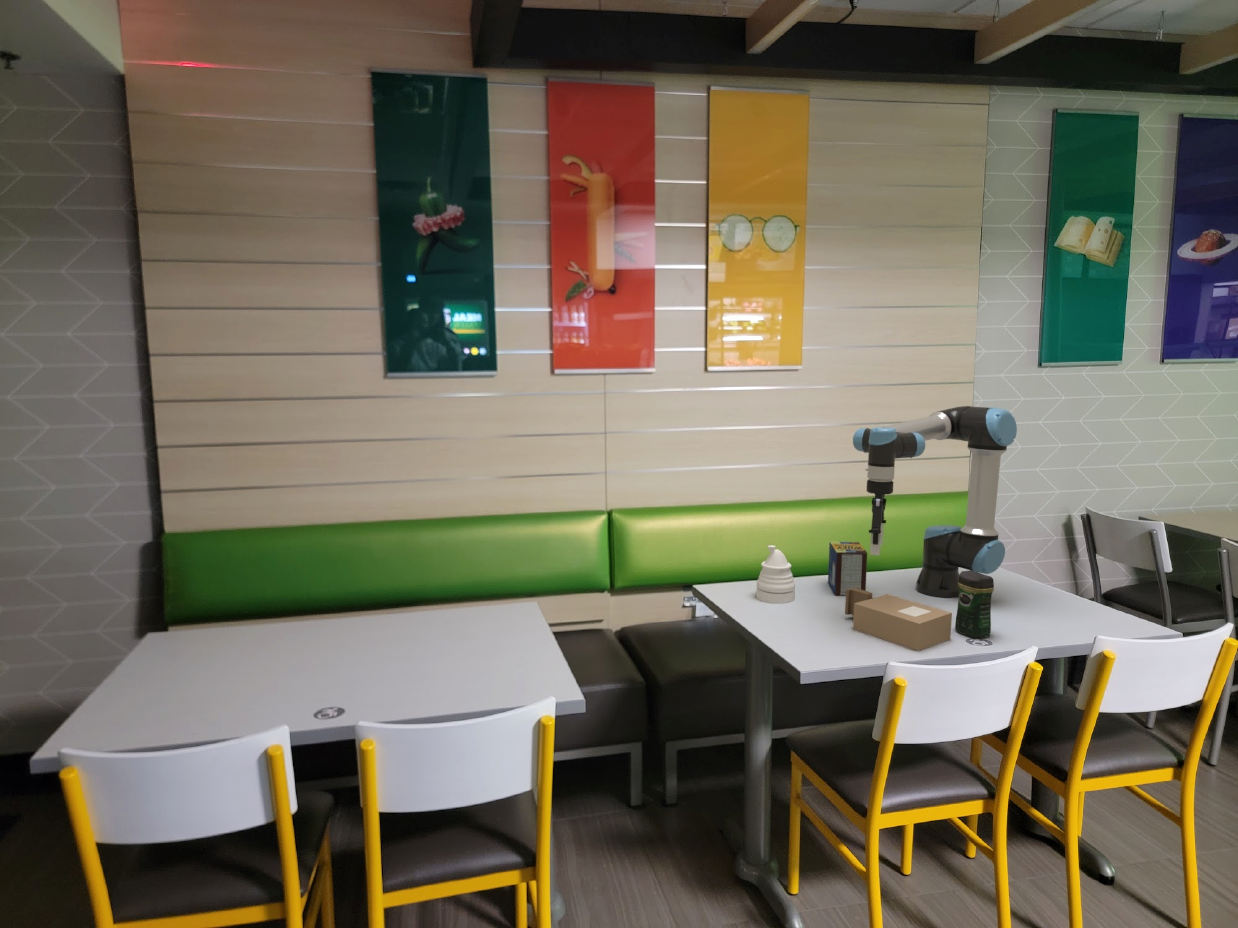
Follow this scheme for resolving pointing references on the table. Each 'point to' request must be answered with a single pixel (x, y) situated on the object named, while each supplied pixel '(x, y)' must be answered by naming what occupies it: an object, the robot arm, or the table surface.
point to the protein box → (846, 567)
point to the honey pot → (775, 579)
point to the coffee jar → (974, 604)
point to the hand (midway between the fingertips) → (876, 549)
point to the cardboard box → (902, 621)
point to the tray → (855, 598)
